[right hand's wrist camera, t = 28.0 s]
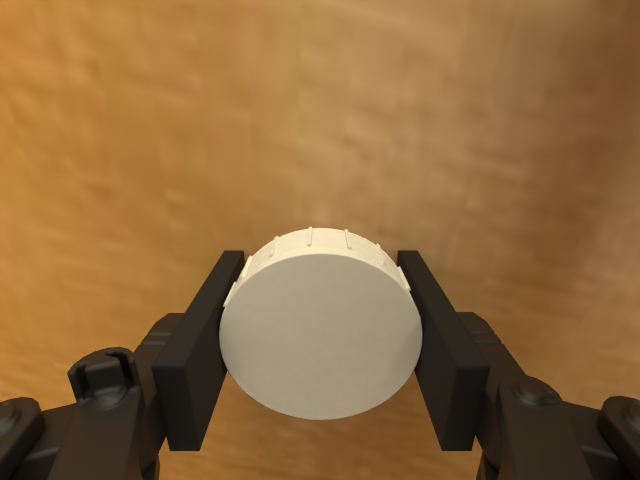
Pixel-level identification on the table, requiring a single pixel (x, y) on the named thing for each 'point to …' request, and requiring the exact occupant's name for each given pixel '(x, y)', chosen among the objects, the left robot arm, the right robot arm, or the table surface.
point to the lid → (320, 325)
